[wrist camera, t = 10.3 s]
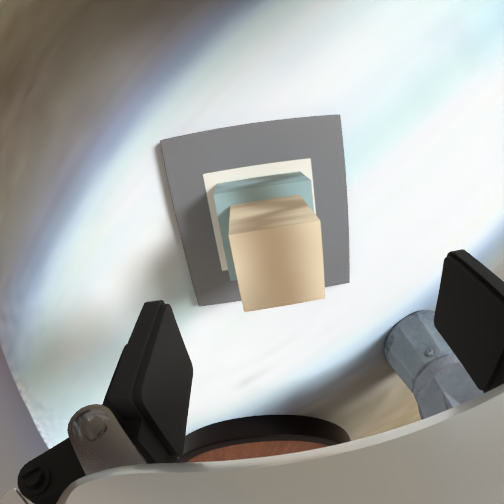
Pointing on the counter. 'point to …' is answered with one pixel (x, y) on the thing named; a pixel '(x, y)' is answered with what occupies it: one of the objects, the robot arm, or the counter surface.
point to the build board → (250, 166)
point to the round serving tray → (260, 438)
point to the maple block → (277, 252)
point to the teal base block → (253, 192)
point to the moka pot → (428, 365)
